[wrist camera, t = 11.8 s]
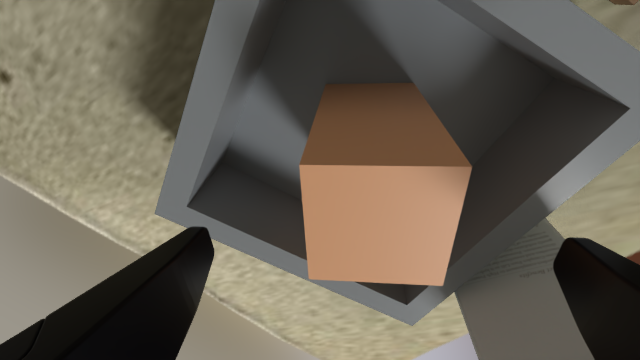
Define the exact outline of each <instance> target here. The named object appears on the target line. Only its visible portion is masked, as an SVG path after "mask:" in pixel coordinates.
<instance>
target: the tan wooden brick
mask: <svg viewBox="0 0 640 360" xmlns="http://www.w3.org/2000/svg"><path fill="white" fill-rule="evenodd" d="M299 168H300V180H301V192H302V204H303V216H304V228H305V240H306V252H307V264H308V276H309V279H313V280H333V281H353V282H373V283H393V284H413V285H433V286H443V283H444V279H445V275H446V271H447V267H448V263H449V259H450V255H451V251H452V247H453V243H454V239H455V235H456V231H457V227H458V223H459V219H460V215H461V211H462V207H463V202H464V198H465V194H466V190H467V186H468V182H469V178H470V174H471V170H472V166H471V164H470V163H469V161H468V160H467V159H466V157H465V156H464V154H463V153H462V151H461V150H460V148H459V147H458V146H457V144H456V143H455V141H454V140H453V138H452V137H451V136H450V134H449V133H448V131H447V130H446V128H445V127H444V126H443V124H442V123H441V121H440V120H439V118H438V117H437V115H436V114H435V113H434V111H433V110H432V108H431V107H430V105H429V104H428V103H427V101H426V100H425V98H424V97H423V95H422V94H421V93H420V91H419V90H418V88H417V87H416V85H415V84H414V83H367V84H326V85H325V88H324V91H323V94H322V97H321V100H320V103H319V106H318V109H317V112H316V115H315V118H314V121H313V124H312V127H311V130H310V134H309V137H308V140H307V143H306V146H305V149H304V152H303V155H302V158H301V161H300V164H299Z"/></svg>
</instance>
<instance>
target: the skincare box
mask: <svg viewBox="0 0 640 360" xmlns="http://www.w3.org/2000/svg"><path fill="white" fill-rule="evenodd" d="M564 240H565V239H564V238H563V237H562V236H561V234H560V233H559V232H558V231H557V230H556V229H555V228H554V227H553V226H552V225H551V224H550V223H549V221H548V220H547V219H546V218H544V219H543V220H542V221H541V222H539V223H538V224H537V225H536V226H534V227H533V228H532V229H531V230H530V231H528V232H527V233H526V234H525V235H523V236H522V237H521V238H520V239H518V240H517V241H516V242H515V243H514V244H512V245H511V246H510V247H509V248H507V249H506V250H505V251H504V252H502V253H501V254H500V255H499V256H498V257H496V258H495V259H494V260H493V261H491V262H490V263H489V264H488V265H486V266H485V267H484V268H483V269H482V270H480V271H479V272H478V273H477V274H475V275H474V276H473V277H472V278H471V279H469V280H468V281H467V282H466V283H464V284H463V285H462V286H461V287H459V288H458V289H457V290H456V291H455V295H456V298H457V301H458V303H459V306H460V309H461V312H462V315H463V317H464V320H465V323H466V326H467V329H468V331H469V334H470V337H471V339H472V342H473V345H474V348H475V351H476V354H477V356H478V359H479V360H595V359H594V358H593V356H592V354H591V352H590V350H589V349H588V347H587V345H586V343H585V341H584V339H583V337H582V335H581V333H580V331H579V329H578V327H577V325H576V323H575V320H574V318H573V316H572V313H571V311H570V309H569V306H568V304H567V302H566V299H565V297H564V294H563V292H562V290H561V287H560V285H559V283H558V280H557V278H556V276H555V273H554V270H553V262H554V259H555V257H556V255H557V253H558V251H559V249H560V247H561V245H562V243H563V241H564Z"/></svg>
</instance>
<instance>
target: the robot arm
mask: <svg viewBox="0 0 640 360" xmlns="http://www.w3.org/2000/svg"><path fill="white" fill-rule="evenodd" d="M213 258H214V248H213V244H212V241H211V237H210V234H209V231H208V229H207V228H206V227H200V226H192V227H189V228H187V229H186V230H184V231H183V232H181V233H179V234H178V235H176V236H175V237H173V238H171V239H170V240H168V241H167V242H165V243H163V244H162V245H160V246H159V247H157V248H155V249H154V250H152V251H151V252H149V253H147V254H146V255H144V256H143V257H141V258H139V259H138V260H136V261H134V262H133V263H131V264H130V265H128V266H126V267H125V268H123V269H122V270H120V271H119V272H117V273H115V274H114V275H112V276H110V277H109V278H107V279H106V280H104V281H102V282H101V283H99V284H97V285H96V286H94V287H93V288H91V289H90V290H88V291H86V292H85V293H83V294H82V295H80V296H78V297H77V298H75V299H74V300H72V301H70V302H69V303H67V304H65V305H64V306H62V307H61V308H59V309H57V310H56V311H54V312H52V313H51V314H49V315H48V316H47V317H46V318H45V319H41V320H40V321H38V322H36V323H35V324H33V325H32V326H30V327H28V328H27V329H25V330H24V331H22V332H20V333H19V334H17V335H15V336H14V337H12V338H10V339H9V340H7V341H5V342H4V343H2V344H0V360H175V359H176V357H177V355H178V353H179V350H180V348H181V346H182V343H183V341H184V339H185V337H186V334H187V332H188V330H189V327H190V325H191V323H192V320H193V318H194V315H195V313H196V311H197V308H198V305H199V302H200V299H201V296H202V293H203V290H204V287H205V283H206V280H207V277H208V274H209V271H210V268H211V264H212V261H213ZM553 270H554V273H555V276H556V278H557V280H558V283H559V285H560V287H561V290H562V292H563V294H564V297H565V299H566V302H567V304H568V306H569V309H570V311H571V313H572V316H573V318H574V320H575V323H576V325H577V327H578V329H579V331H580V333H581V335H582V337H583V339H584V341H585V343H586V345H587V347H588V349H589V350H590V352H591V354H592V356H593V358H594V359H595V360H640V265H639V264H636V263H635V262H633V261H631V260H629V259H627V258H625V257H623V256H621V255H619V254H617V253H615V252H613V251H612V250H610V249H608V248H606V247H604V246H602V245H600V244H598V243H596V242H594V241H592V240H590V239H587V238H567V239H565V240H564V241H563V243H562V245H561V247H560V249H559V251H558V253H557V255H556V257H555V259H554V262H553Z"/></svg>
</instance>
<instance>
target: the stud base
mask: <svg viewBox="0 0 640 360" xmlns="http://www.w3.org/2000/svg"><path fill="white" fill-rule="evenodd" d="M609 1H611V2H612V3H613V4H618V5H635V4H636V3H637V2H638V0H609Z"/></svg>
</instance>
